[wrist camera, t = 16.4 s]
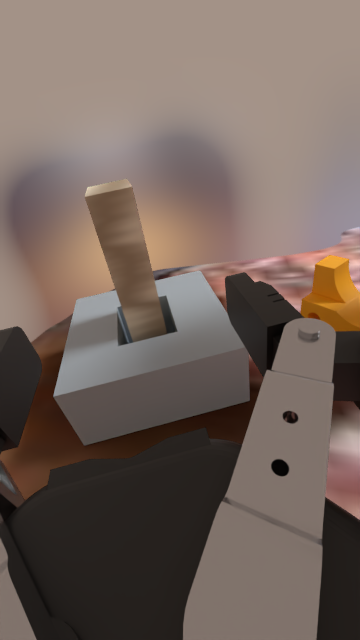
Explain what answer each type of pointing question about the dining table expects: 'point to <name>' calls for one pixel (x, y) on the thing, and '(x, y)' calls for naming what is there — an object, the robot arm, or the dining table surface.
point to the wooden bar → (127, 256)
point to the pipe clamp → (333, 296)
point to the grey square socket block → (150, 363)
